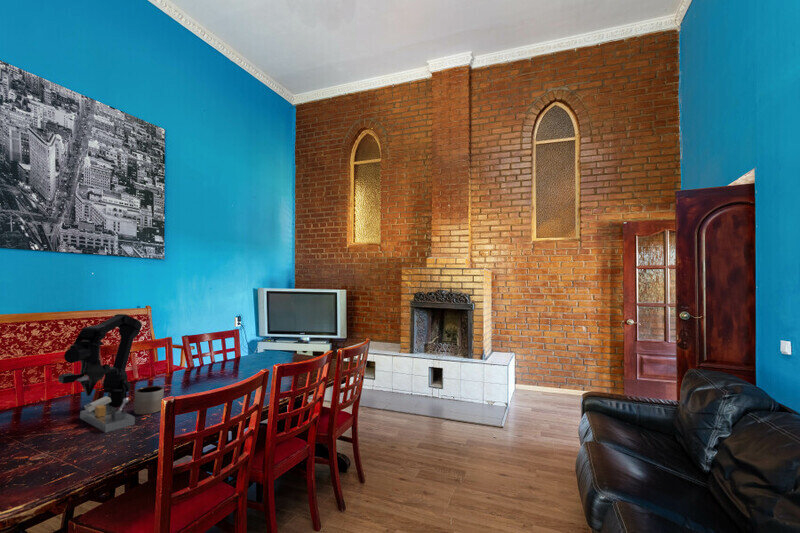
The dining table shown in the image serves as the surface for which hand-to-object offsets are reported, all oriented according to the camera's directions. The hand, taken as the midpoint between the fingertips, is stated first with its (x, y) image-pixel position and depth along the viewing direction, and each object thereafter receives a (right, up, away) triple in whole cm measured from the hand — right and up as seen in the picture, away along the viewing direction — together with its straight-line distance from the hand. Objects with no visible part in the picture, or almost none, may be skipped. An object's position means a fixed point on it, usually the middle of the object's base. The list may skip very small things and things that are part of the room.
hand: (88, 395), depth 159 cm
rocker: (+2, -5, +3) cm, 6 cm away
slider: (+8, -7, -4) cm, 11 cm away
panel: (+9, -10, -2) cm, 13 cm away
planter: (+17, -11, +12) cm, 23 cm away
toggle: (+16, -6, -6) cm, 18 cm away
